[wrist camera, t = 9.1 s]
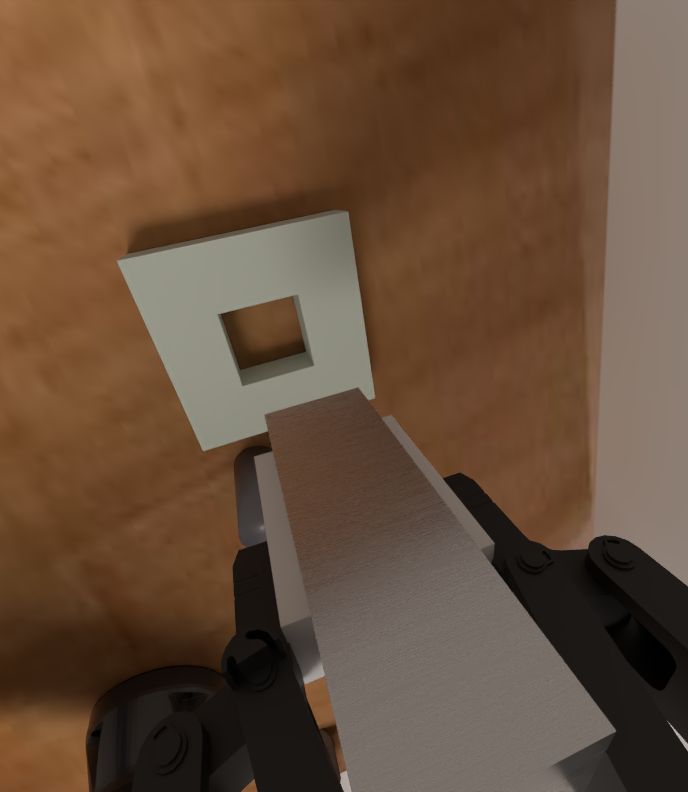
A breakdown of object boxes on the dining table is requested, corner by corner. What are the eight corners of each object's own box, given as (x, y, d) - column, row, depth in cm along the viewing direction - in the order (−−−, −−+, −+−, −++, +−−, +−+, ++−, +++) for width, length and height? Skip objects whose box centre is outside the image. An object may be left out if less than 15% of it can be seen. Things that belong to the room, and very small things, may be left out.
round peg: (241, 487, 35) (248, 558, 28) (227, 454, 33) (231, 521, 26) (283, 473, 36) (300, 539, 29) (272, 440, 34) (287, 502, 27)
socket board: (203, 430, 31) (203, 451, 29) (126, 254, 24) (116, 260, 22) (362, 382, 34) (375, 398, 31) (335, 209, 27) (348, 211, 24)
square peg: (286, 487, 17) (393, 912, 7) (264, 414, 15) (368, 862, 5) (369, 460, 18) (574, 810, 8) (358, 387, 16) (616, 731, 6)
